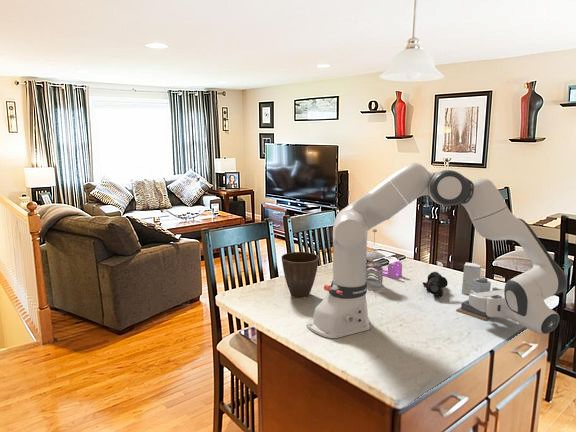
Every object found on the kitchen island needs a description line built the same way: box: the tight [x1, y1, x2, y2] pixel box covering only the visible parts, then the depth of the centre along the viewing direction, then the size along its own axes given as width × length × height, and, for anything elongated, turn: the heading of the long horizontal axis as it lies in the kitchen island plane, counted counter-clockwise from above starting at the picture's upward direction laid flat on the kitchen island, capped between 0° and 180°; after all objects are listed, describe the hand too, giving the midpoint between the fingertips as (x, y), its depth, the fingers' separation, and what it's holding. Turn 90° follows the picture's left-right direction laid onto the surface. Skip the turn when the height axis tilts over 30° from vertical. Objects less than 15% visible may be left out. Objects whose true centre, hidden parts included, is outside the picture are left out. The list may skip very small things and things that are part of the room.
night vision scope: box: [421, 271, 449, 298], centre depth 180 cm, size 8×18×10 cm
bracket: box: [373, 260, 403, 280], centre depth 203 cm, size 13×6×7 cm, turn 40°
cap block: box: [471, 276, 492, 293], centre depth 159 cm, size 4×4×12 cm
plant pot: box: [281, 251, 320, 299], centre depth 177 cm, size 15×15×16 cm
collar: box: [455, 299, 492, 321], centre depth 160 cm, size 12×11×3 cm
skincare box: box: [461, 262, 482, 295], centre depth 178 cm, size 6×4×12 cm
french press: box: [366, 228, 386, 291], centre depth 185 cm, size 10×12×25 cm
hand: (482, 290), depth 158 cm, fingers open, 8 cm apart
